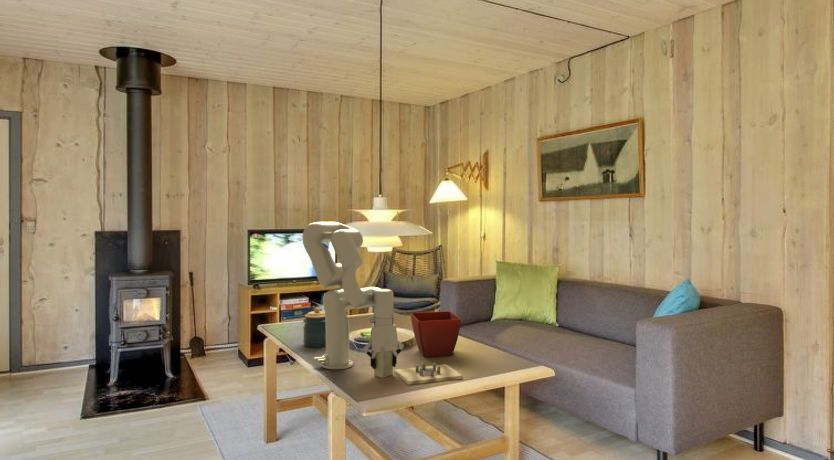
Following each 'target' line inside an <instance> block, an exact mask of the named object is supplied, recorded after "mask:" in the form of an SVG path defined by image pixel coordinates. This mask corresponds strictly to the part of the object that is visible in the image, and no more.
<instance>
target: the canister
mask: <svg viewBox="0 0 834 460" xmlns="http://www.w3.org/2000/svg"><path fill="white" fill-rule="evenodd" d="M304 317H305V318H304V319H302V321H303V327H302V329H303V339H302V342H303V346H304V347H305V348H306V347H307V348H311V349H312V348H313V349H314V348H326V321H325V311H322V310H320V308H319V307H315V308H314V311H309V312H307V313H306V314H304Z"/></svg>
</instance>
